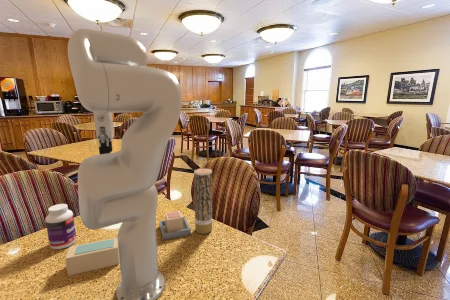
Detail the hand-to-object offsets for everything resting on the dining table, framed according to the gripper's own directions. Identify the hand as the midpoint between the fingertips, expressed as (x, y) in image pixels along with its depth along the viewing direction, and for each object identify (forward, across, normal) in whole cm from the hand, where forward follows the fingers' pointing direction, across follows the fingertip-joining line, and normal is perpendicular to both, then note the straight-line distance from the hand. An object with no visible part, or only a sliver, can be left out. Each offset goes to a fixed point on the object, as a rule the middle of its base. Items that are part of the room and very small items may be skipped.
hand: (106, 154), depth 81 cm
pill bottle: (+32, +2, +17) cm, 37 cm away
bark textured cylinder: (+32, -8, -33) cm, 47 cm away
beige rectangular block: (+32, -14, +5) cm, 36 cm away
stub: (+32, -4, -22) cm, 39 cm away
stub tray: (+32, -4, -22) cm, 39 cm away
